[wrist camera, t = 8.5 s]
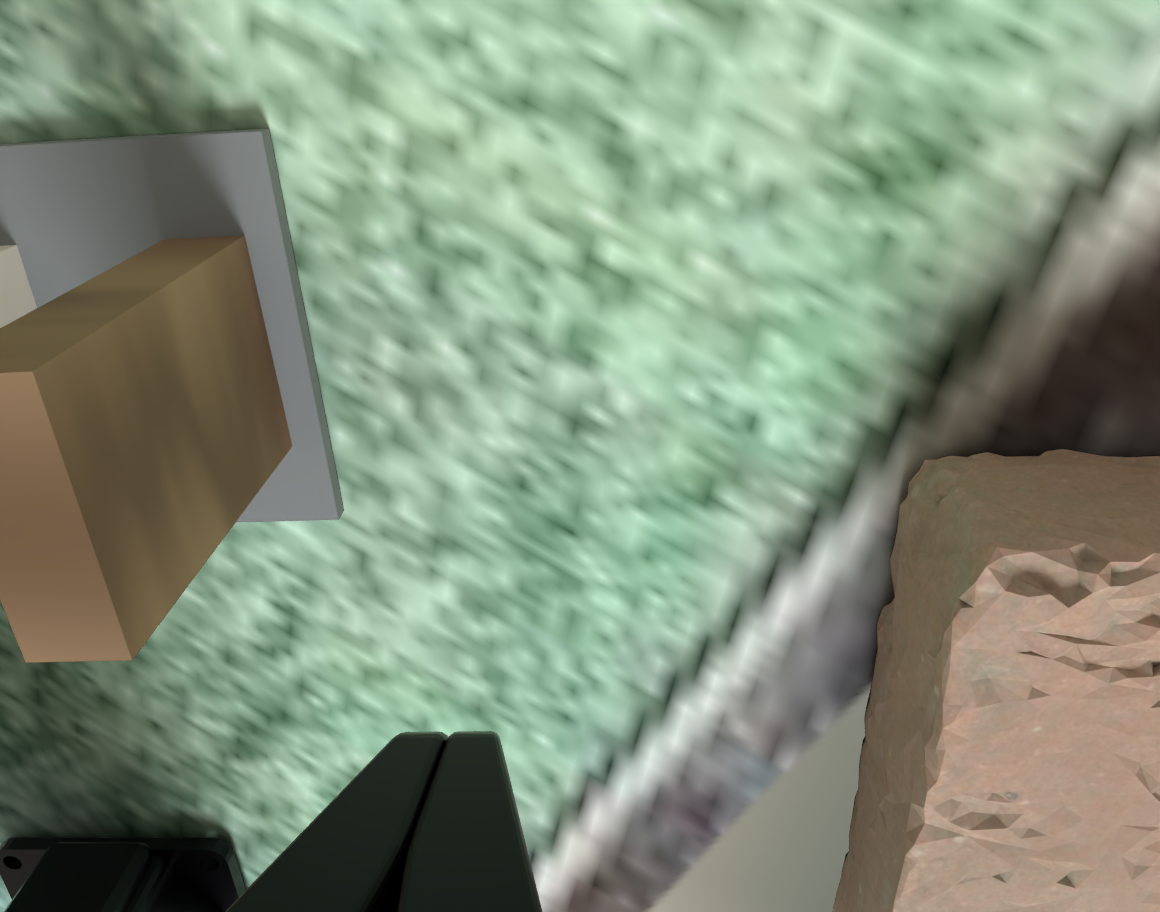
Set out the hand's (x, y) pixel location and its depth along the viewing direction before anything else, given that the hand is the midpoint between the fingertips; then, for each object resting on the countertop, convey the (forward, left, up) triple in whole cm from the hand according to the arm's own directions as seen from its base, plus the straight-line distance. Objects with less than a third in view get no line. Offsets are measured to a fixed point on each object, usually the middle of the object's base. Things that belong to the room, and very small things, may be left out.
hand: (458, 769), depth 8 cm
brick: (-11, -11, -13) cm, 20 cm away
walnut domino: (0, +7, -12) cm, 13 cm away
